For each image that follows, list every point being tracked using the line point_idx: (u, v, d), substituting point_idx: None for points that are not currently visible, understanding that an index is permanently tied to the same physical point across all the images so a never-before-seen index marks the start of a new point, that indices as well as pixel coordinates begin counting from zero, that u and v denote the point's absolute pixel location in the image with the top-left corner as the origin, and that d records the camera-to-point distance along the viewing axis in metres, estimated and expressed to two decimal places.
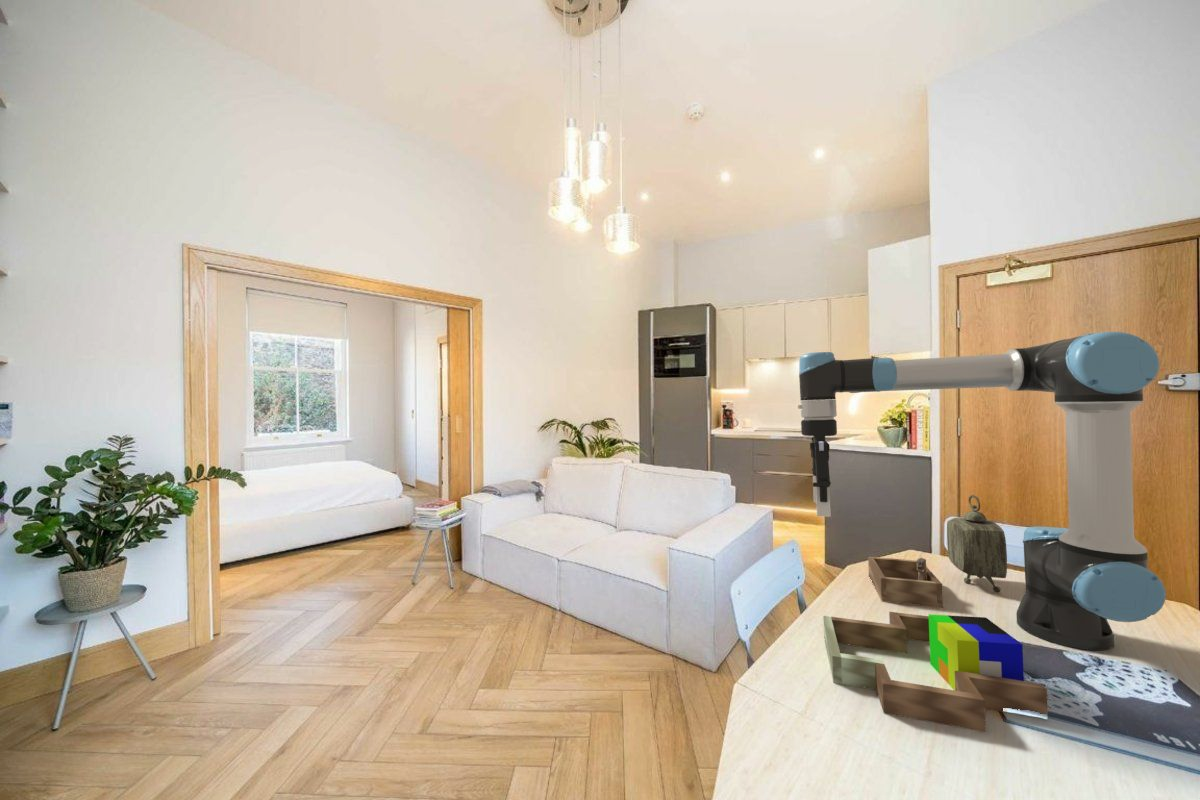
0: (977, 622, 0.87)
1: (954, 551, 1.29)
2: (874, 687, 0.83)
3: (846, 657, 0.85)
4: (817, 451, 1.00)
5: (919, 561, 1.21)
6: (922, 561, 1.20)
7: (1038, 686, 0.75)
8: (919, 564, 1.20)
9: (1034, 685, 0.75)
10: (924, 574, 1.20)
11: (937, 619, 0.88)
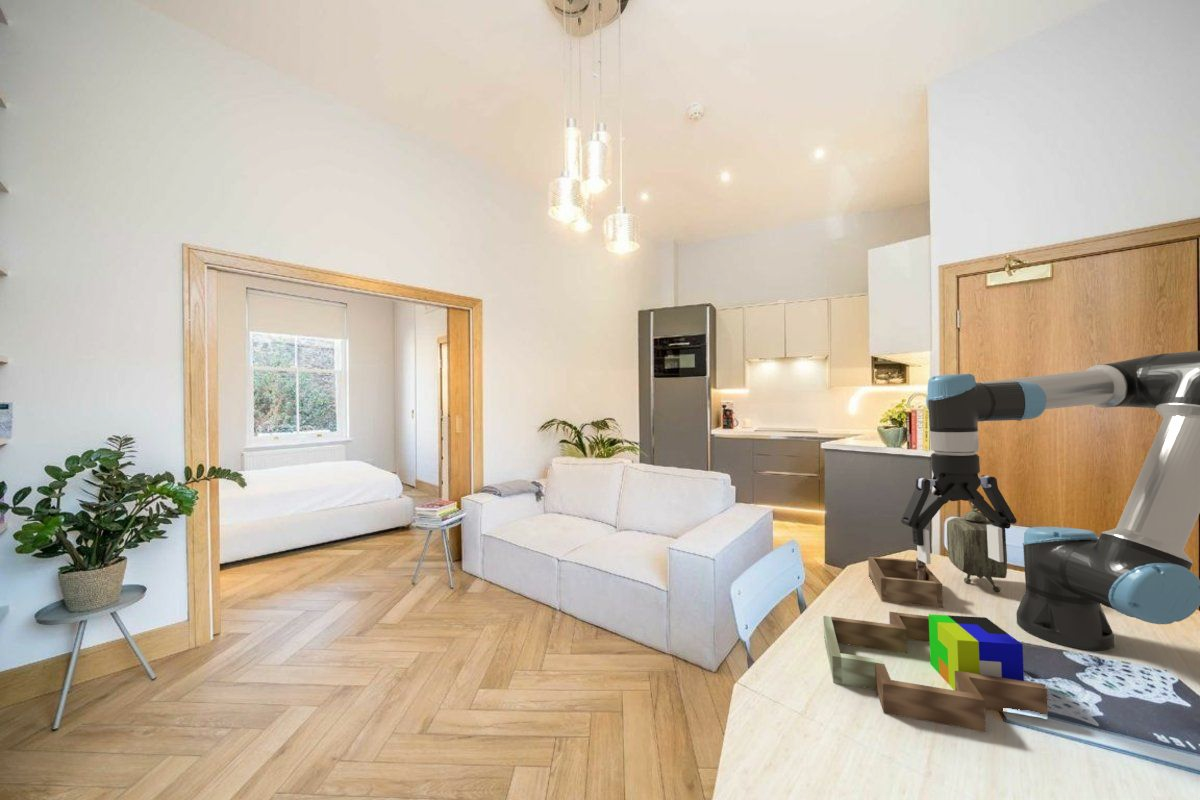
0: (977, 622, 0.87)
1: (954, 551, 1.29)
2: (874, 687, 0.83)
3: (846, 657, 0.85)
4: (916, 488, 0.90)
5: (919, 560, 1.22)
6: None
7: (1038, 686, 0.75)
8: (919, 563, 1.21)
9: (1034, 685, 0.75)
10: (924, 572, 1.21)
11: (937, 619, 0.88)
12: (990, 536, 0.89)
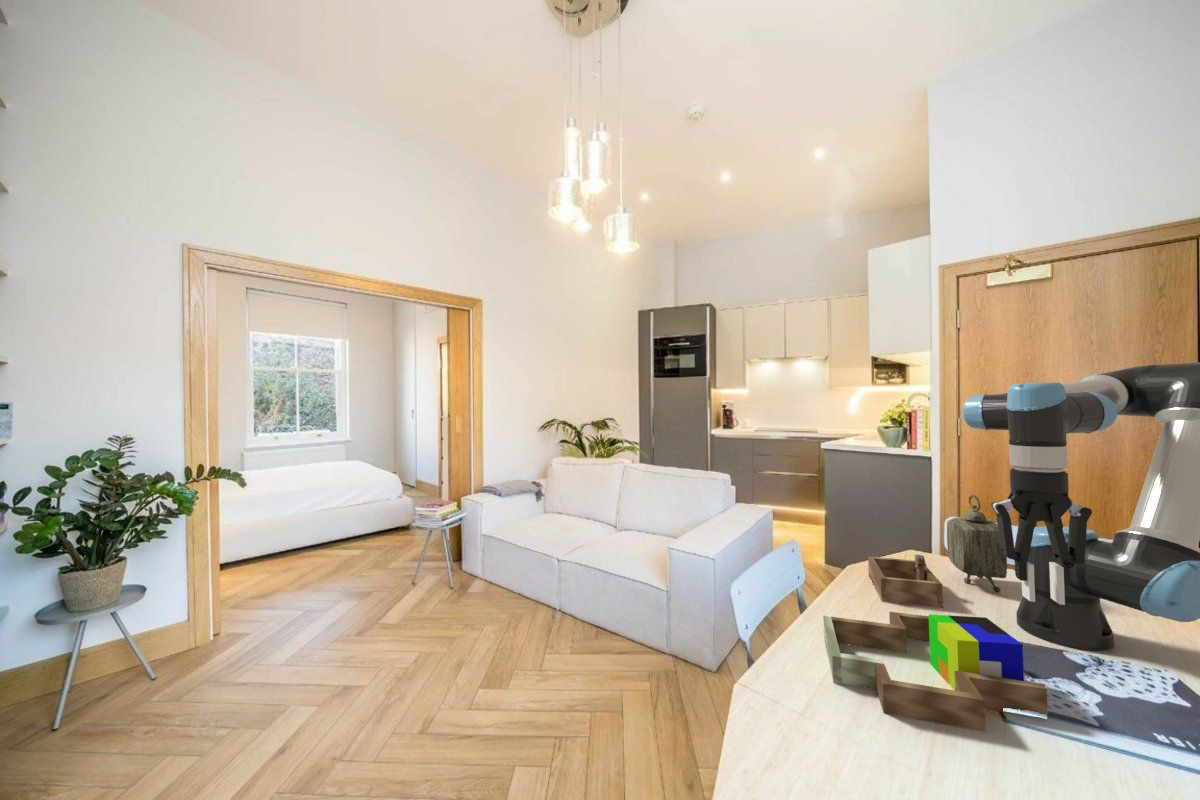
0: (977, 622, 0.87)
1: (954, 551, 1.29)
2: (874, 687, 0.83)
3: (846, 657, 0.85)
4: (996, 514, 0.84)
5: (919, 558, 1.23)
6: (922, 558, 1.22)
7: (1038, 686, 0.75)
8: (919, 561, 1.22)
9: (1034, 685, 0.75)
10: (923, 570, 1.22)
11: (937, 619, 0.88)
12: (1052, 575, 0.81)
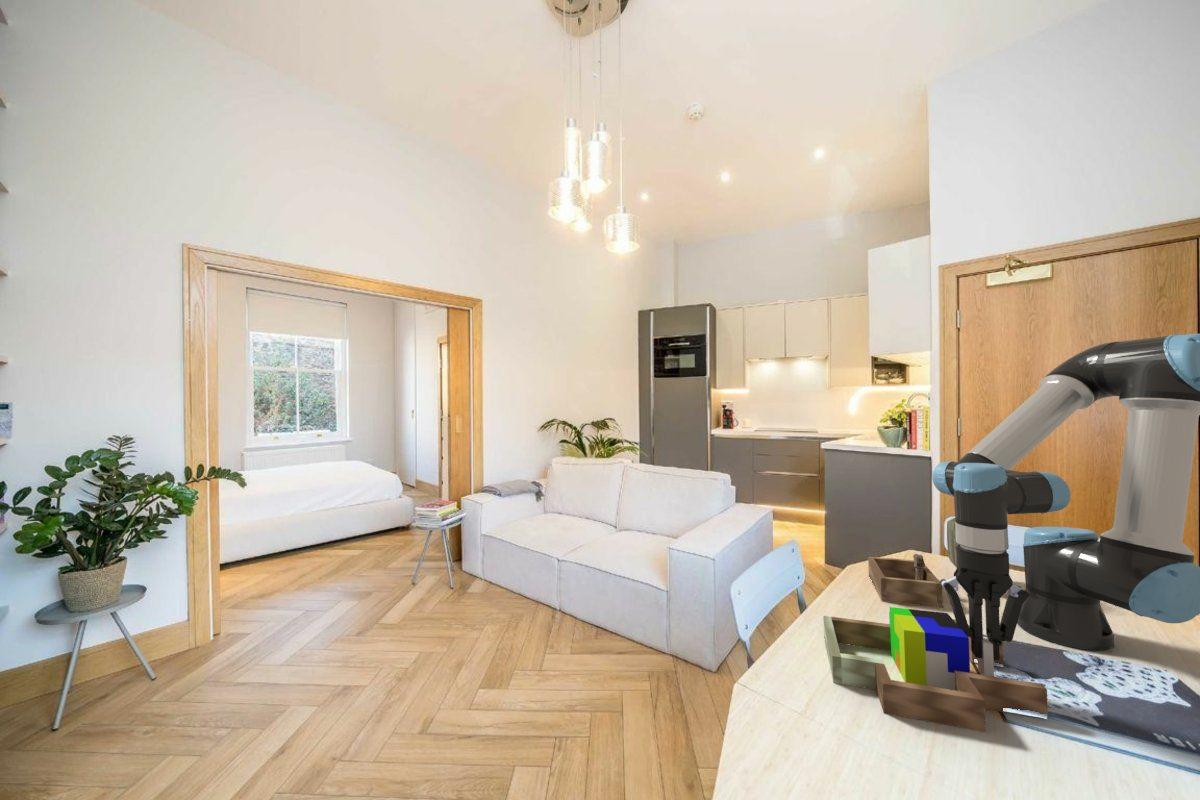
0: (934, 616, 0.89)
1: (954, 550, 1.30)
2: (874, 687, 0.83)
3: (846, 657, 0.85)
4: (947, 592, 0.87)
5: (918, 558, 1.23)
6: (921, 557, 1.23)
7: (1038, 686, 0.75)
8: (918, 561, 1.23)
9: (1034, 685, 0.75)
10: (922, 569, 1.23)
11: (895, 612, 0.92)
12: None
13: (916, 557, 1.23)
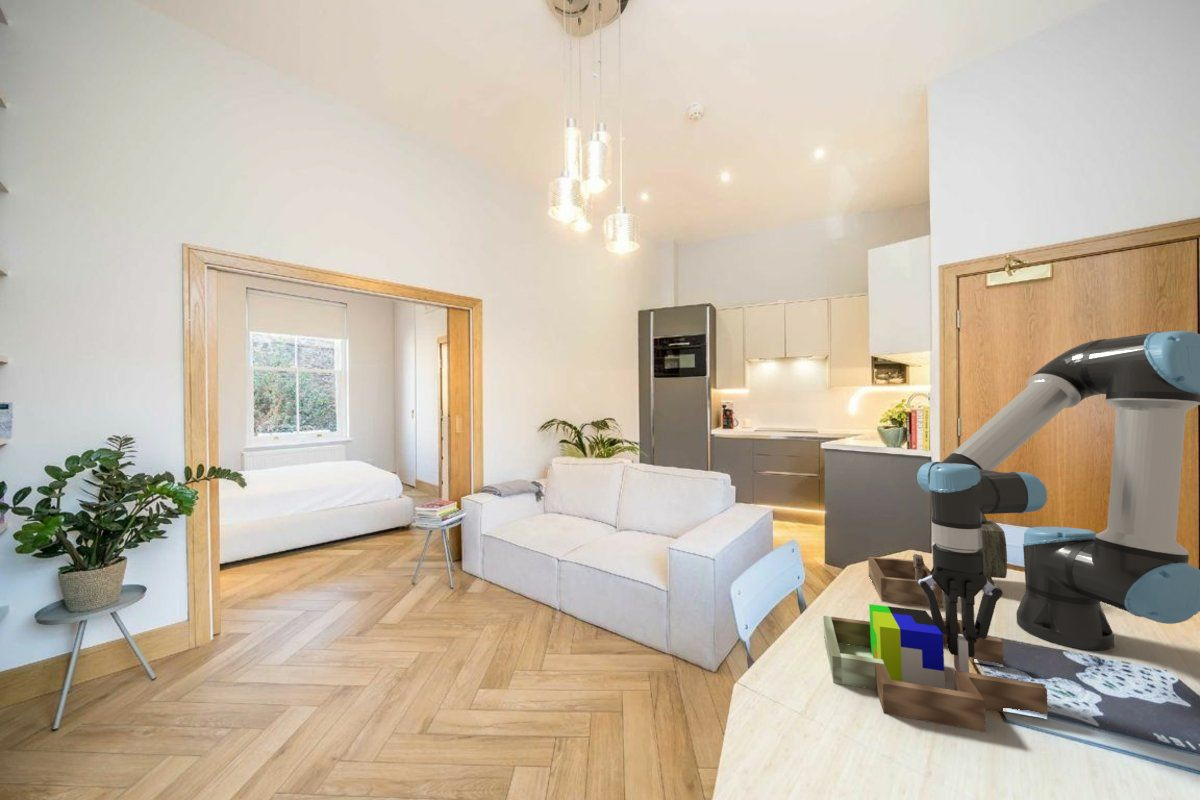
0: (912, 614, 0.91)
1: None
2: (874, 687, 0.83)
3: (846, 657, 0.85)
4: None
5: (918, 558, 1.23)
6: (921, 558, 1.23)
7: (1038, 686, 0.75)
8: (918, 561, 1.23)
9: (1034, 685, 0.75)
10: (922, 570, 1.23)
11: (874, 609, 0.93)
12: None
13: (916, 557, 1.23)
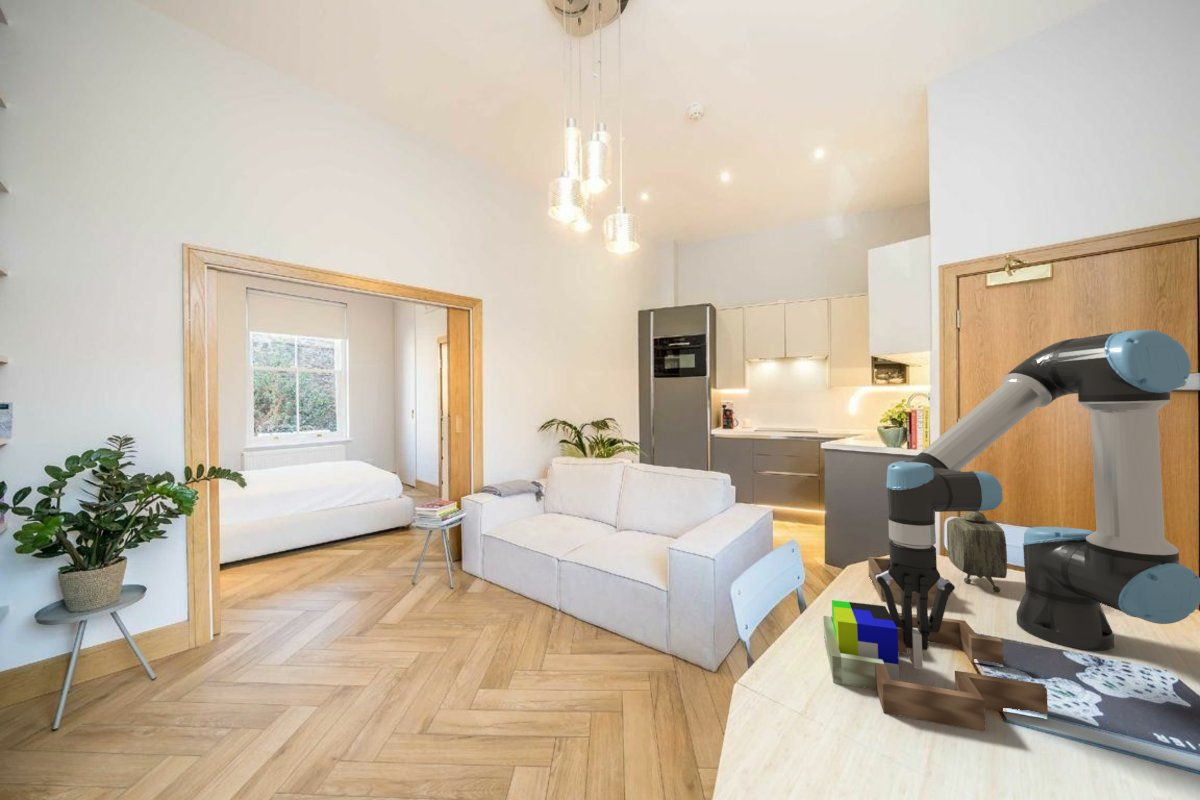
0: (872, 609, 0.93)
1: (954, 550, 1.29)
2: (874, 687, 0.83)
3: (846, 657, 0.85)
4: None
5: None
6: None
7: (1038, 686, 0.75)
8: None
9: (1034, 685, 0.75)
10: None
11: (835, 604, 0.96)
12: None
13: None
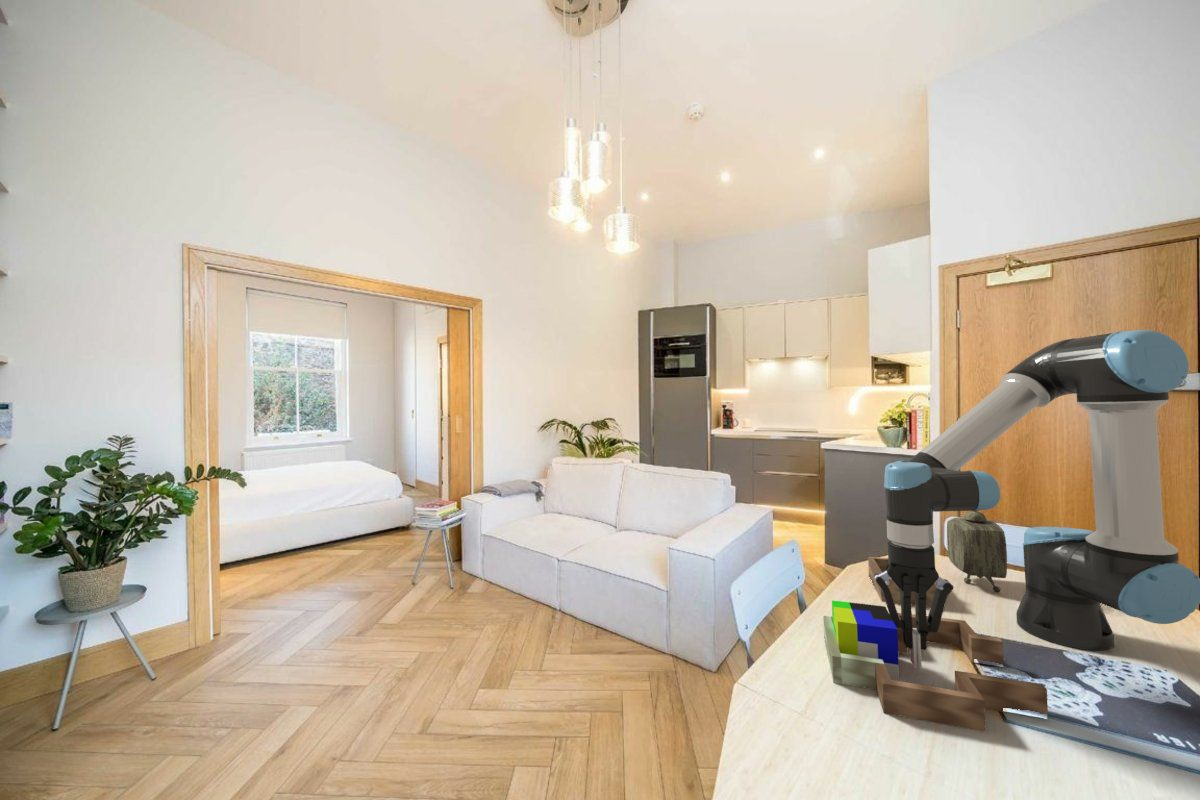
0: (872, 609, 0.93)
1: (954, 551, 1.29)
2: (874, 687, 0.83)
3: (846, 657, 0.85)
4: None
5: None
6: None
7: (1038, 686, 0.75)
8: None
9: (1034, 685, 0.75)
10: None
11: (835, 605, 0.96)
12: None
13: None
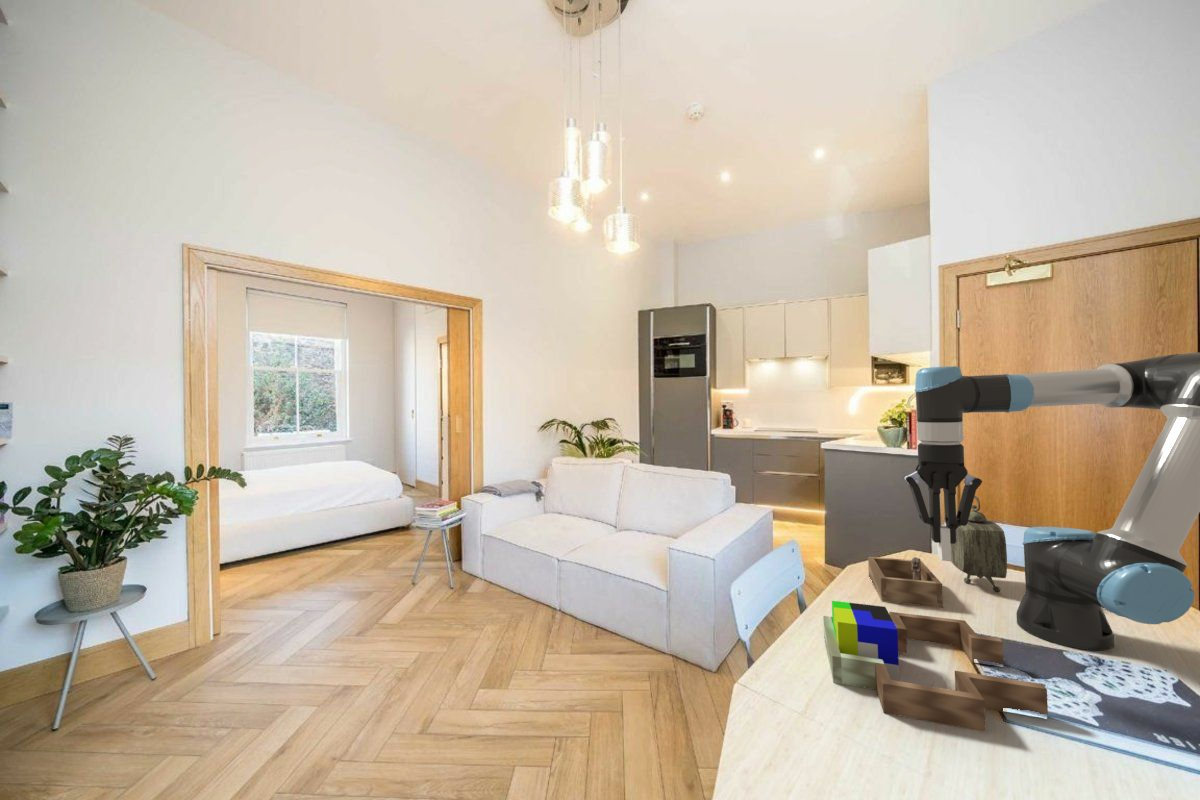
0: (872, 610, 0.93)
1: (954, 551, 1.29)
2: (874, 687, 0.83)
3: (846, 657, 0.85)
4: None
5: (914, 561, 1.21)
6: (917, 561, 1.20)
7: (1038, 686, 0.75)
8: (914, 564, 1.21)
9: (1034, 685, 0.75)
10: (919, 573, 1.20)
11: (835, 605, 0.96)
12: None
13: (912, 560, 1.21)
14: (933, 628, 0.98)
